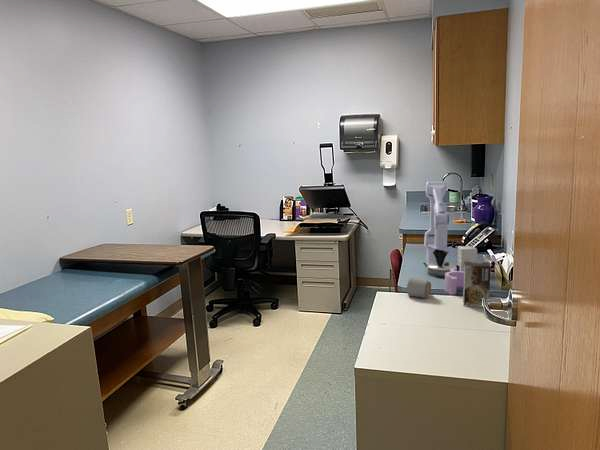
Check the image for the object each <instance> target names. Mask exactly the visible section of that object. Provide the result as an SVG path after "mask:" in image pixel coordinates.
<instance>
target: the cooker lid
mask: <svg viewBox="0 0 600 450" xmlns="http://www.w3.org/2000/svg"><path fill="white" fill-rule="evenodd" d="M426 268H427V269H428V268H429V269H432V270H439V271H450V269H451V268H457V266H456V264H454V263H450V262H447V261H445V262H444V263H443V265H442V266H438V265H437V262H436V263H429V264H427V267H426Z"/></svg>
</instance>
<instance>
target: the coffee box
mask: <svg viewBox="0 0 600 450" xmlns="http://www.w3.org/2000/svg"><path fill="white" fill-rule="evenodd" d="M491 269H492V268H491V264H490V262H486V261H477V262H467V261H464V288H463V289H462V291H463V292H462V293H463V295H462V303H464V304H463V306H464V305H468V306H467V307H473V306H482V298H491V297H490V296H491V295H490V294H491V292H490V291H491V271H492V270H491ZM481 308H484V307H483V306H482V307H481Z"/></svg>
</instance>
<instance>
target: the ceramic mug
mask: <svg viewBox="0 0 600 450" xmlns="http://www.w3.org/2000/svg"><path fill="white" fill-rule="evenodd" d="M406 285H407V286H406V294H407V296H408V297H409V296H410V297H414V296H415V297H416V298H420V297H421V299H428V298H429V297H430V295H431V292H432V283H431V281H429V280H427V279H422V278H418V277H414V276H410V278H409V279H408V281H407V284H406ZM415 297H414V298H415Z"/></svg>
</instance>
